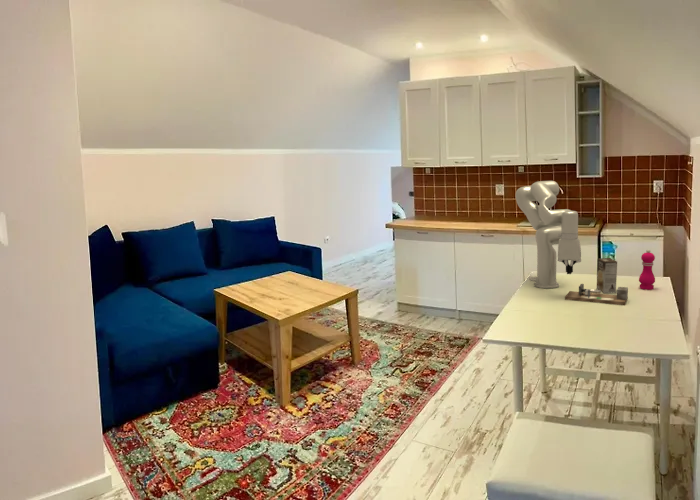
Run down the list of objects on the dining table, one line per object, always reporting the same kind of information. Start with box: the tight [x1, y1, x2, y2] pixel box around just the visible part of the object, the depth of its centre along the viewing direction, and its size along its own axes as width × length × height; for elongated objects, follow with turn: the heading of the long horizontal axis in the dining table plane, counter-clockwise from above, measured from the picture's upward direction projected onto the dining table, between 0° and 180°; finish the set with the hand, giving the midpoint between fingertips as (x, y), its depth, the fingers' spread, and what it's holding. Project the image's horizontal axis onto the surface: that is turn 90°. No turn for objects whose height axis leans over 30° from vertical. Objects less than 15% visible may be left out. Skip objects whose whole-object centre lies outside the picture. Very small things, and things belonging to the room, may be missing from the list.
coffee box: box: [596, 257, 618, 294], centre depth 273 cm, size 9×6×16 cm
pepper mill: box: [638, 249, 656, 291], centre depth 273 cm, size 7×7×20 cm
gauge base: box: [564, 286, 629, 306], centre depth 261 cm, size 26×11×6 cm, turn 57°
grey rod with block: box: [578, 283, 602, 295], centre depth 263 cm, size 9×8×4 cm
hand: (569, 273), depth 267 cm, fingers closed
